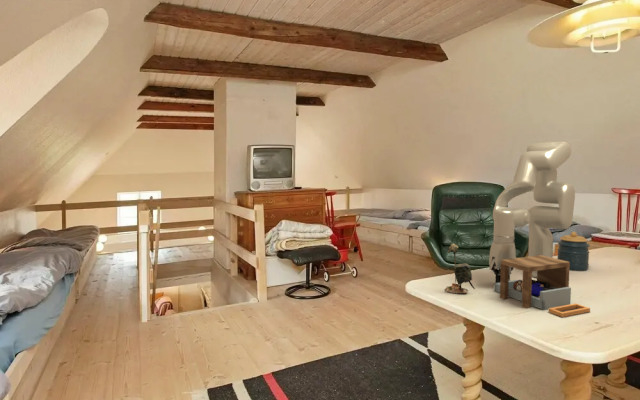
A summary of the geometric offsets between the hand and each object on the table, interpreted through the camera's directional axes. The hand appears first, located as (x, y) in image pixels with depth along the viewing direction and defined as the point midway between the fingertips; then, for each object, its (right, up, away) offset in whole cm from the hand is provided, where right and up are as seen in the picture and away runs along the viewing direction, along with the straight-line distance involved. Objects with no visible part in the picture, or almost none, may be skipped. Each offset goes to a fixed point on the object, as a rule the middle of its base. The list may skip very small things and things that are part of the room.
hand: (502, 283), depth 157 cm
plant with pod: (-19, -3, -5) cm, 20 cm away
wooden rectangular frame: (+10, -4, -27) cm, 29 cm away
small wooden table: (+5, -3, -14) cm, 15 cm away
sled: (+4, -2, -11) cm, 11 cm away
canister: (+48, +1, +29) cm, 56 cm away
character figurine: (+6, -3, -14) cm, 15 cm away
